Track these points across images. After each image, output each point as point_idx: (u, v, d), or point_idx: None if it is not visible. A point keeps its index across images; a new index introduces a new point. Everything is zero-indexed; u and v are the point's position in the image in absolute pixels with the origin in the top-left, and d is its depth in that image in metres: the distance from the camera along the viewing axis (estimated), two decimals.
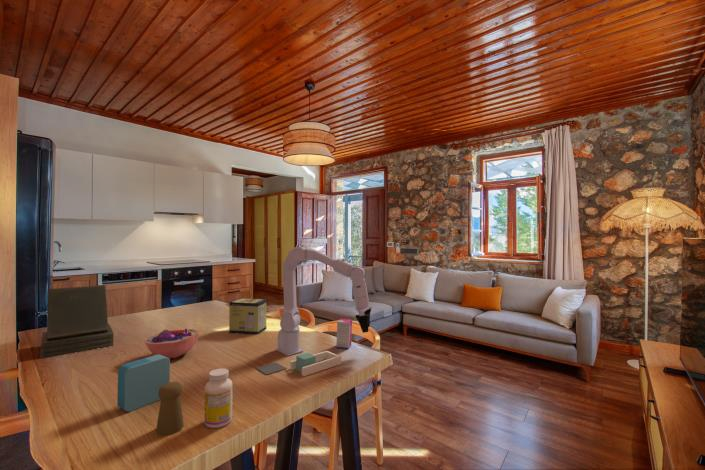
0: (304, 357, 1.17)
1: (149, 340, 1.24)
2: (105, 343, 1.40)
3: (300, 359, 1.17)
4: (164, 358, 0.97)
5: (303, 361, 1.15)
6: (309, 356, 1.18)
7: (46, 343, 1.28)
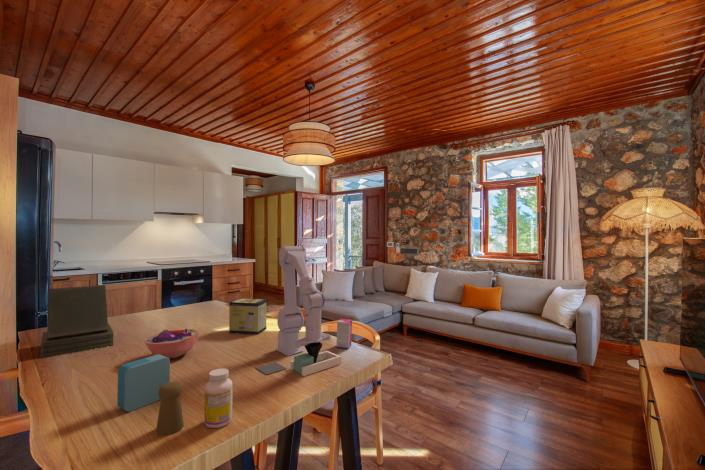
0: (302, 358, 1.16)
1: (149, 340, 1.24)
2: (105, 343, 1.41)
3: (298, 359, 1.16)
4: (164, 358, 0.97)
5: (301, 361, 1.15)
6: (307, 356, 1.18)
7: (46, 343, 1.28)
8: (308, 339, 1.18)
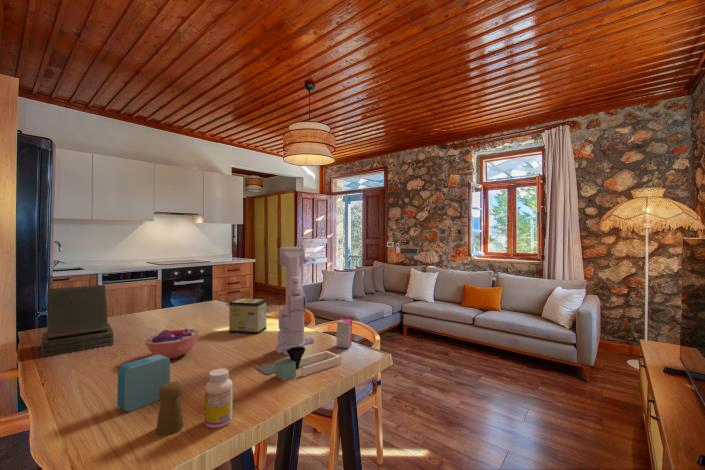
0: (283, 363, 1.11)
1: (149, 340, 1.24)
2: (105, 342, 1.41)
3: (279, 365, 1.11)
4: (164, 358, 0.97)
5: (282, 367, 1.09)
6: (289, 361, 1.13)
7: (46, 342, 1.29)
8: (290, 343, 1.13)
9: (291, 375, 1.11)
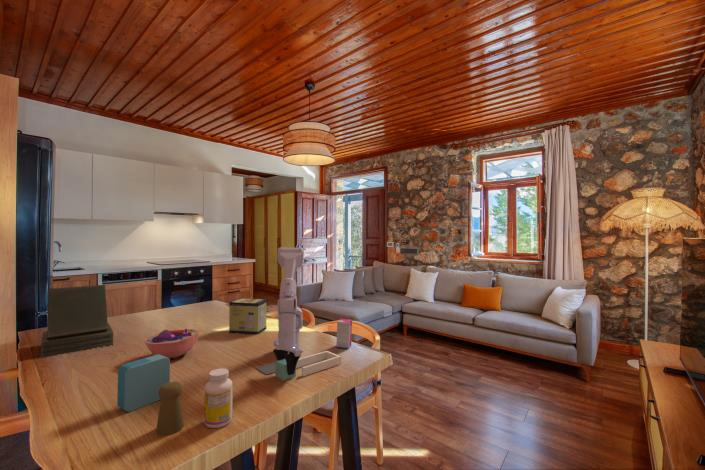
0: (284, 363, 1.11)
1: (149, 340, 1.24)
2: (105, 342, 1.41)
3: (279, 365, 1.11)
4: (164, 358, 0.97)
5: (282, 367, 1.09)
6: None
7: (46, 342, 1.29)
8: None
9: (291, 375, 1.11)
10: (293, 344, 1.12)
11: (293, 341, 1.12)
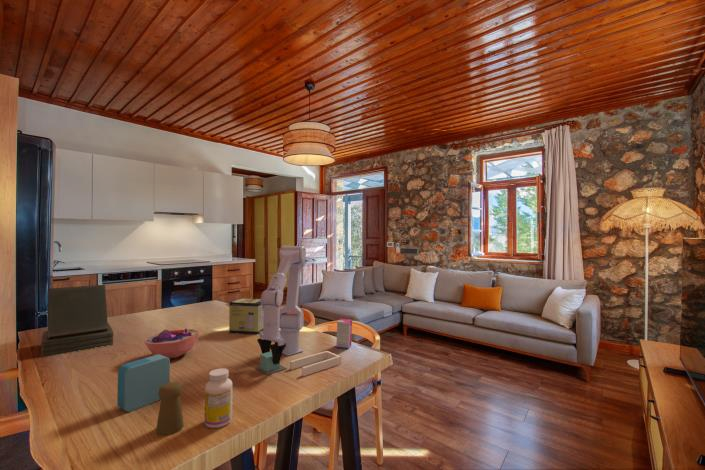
0: (268, 356, 1.17)
1: (149, 340, 1.24)
2: (105, 342, 1.42)
3: (263, 357, 1.17)
4: (164, 358, 0.97)
5: (266, 359, 1.15)
6: None
7: (46, 342, 1.30)
8: None
9: (275, 367, 1.17)
10: (277, 334, 1.18)
11: (277, 331, 1.18)
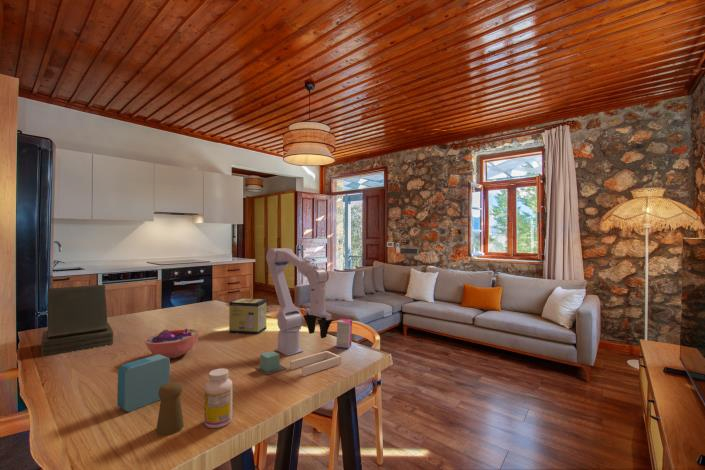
0: (268, 356, 1.17)
1: (149, 340, 1.24)
2: (105, 341, 1.42)
3: (263, 357, 1.17)
4: (164, 358, 0.97)
5: (266, 359, 1.15)
6: (273, 354, 1.19)
7: (47, 341, 1.30)
8: None
9: (275, 367, 1.17)
10: (323, 310, 1.26)
11: (323, 308, 1.26)
